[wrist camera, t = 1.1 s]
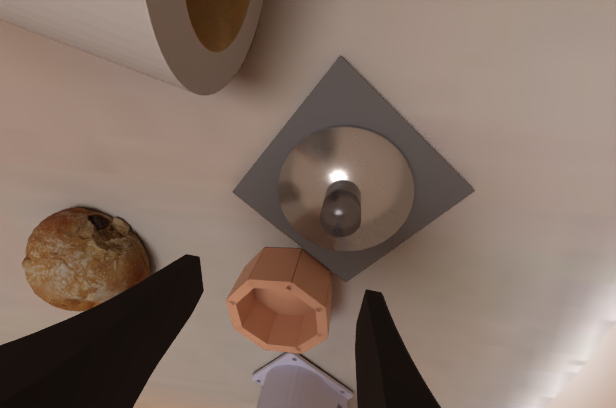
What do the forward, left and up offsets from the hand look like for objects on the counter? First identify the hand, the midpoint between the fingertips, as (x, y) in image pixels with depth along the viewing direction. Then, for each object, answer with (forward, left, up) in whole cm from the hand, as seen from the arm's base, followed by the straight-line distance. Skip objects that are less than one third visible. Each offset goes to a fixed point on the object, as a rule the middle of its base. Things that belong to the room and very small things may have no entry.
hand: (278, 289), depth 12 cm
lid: (-1, -2, -9) cm, 10 cm away
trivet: (-1, -2, -10) cm, 10 cm away
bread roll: (+11, +20, -10) cm, 25 cm away
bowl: (-4, +9, -10) cm, 14 cm away
